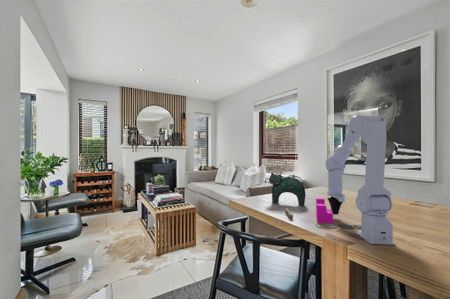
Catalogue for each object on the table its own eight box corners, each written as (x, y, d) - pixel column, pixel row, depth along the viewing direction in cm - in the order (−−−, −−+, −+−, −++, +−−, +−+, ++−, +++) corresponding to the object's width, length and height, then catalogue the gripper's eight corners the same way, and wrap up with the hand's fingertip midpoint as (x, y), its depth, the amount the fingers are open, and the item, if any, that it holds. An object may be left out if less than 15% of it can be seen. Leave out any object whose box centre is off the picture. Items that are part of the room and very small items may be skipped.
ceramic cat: (268, 203, 127) (268, 169, 127) (271, 201, 133) (271, 168, 133) (305, 207, 119) (305, 170, 119) (305, 204, 125) (305, 169, 125)
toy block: (332, 224, 93) (332, 206, 93) (316, 222, 95) (316, 205, 95) (330, 214, 107) (330, 198, 107) (316, 213, 109) (316, 197, 109)
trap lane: (370, 229, 86) (370, 224, 86) (294, 226, 89) (294, 222, 89) (346, 213, 107) (346, 209, 107) (285, 212, 110) (285, 208, 110)
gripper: (352, 187, 92) (352, 219, 92) (337, 181, 107) (337, 209, 107) (334, 186, 93) (334, 218, 93) (322, 181, 107) (322, 209, 107)
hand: (335, 214), depth 100 cm, fingers closed
